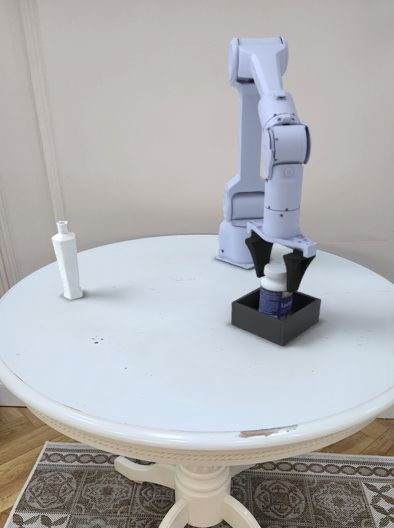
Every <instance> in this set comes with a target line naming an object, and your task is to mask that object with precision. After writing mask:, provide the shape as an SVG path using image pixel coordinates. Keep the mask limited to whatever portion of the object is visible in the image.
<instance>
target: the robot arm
mask: <svg viewBox="0 0 394 528" xmlns="http://www.w3.org/2000/svg"><path fill="white" fill-rule="evenodd" d="M227 54H228V55H227V56H228V57H227V80H228V85H229V86H230V87H232V88H234V89H237V94H238V134H237V135H238V137H237V138H238V140H237V141H238V142H237V143H238V144H237V174H236V175H235V176H233V177H232V178H231V179H230V180H228V181H227V182H226V183H225V184H224V187H223V190H224V191H223V196H222V211H223V212H222V213H223V218H224V219H223V220H222V221H221V223H220V225H219V228H218V255H216V257H215V258H216V260H219V261H222V262H224V263H228V264H231V265H234V266H237V267H240V268H243V269H246V270H251V269H252V268H254V271H255V275H256V278H258V279H261V278H264V277H265V274H264V268H265V265H267V264H269V263H271V255H272V251H273V250H272V249H273V247H274V244H277V245H280V246H283V247H285V248H287V249H290V250H292V251H291V252H287V253H284V254H282V259H283V263H285V266H286V274H287V279H286V288H287V292H288V293H292V292H295V291H299V288H300V287H301V283H302V280H303V279H304V276H305V274H306V271H307V270H308V268H309V266H310V265H311V263H313V260H314V259H315V258H316V257H317V250H318V243H317V242H315V241H313V240H311V239H310V238H309V237H307V236H305V235H304V234H303V233H302V228H301V227H299V226H300V212H301V203H302V202H301V201H302V190H303V179H304V168H305V167H304V165H307V164H308V163H309V162H310V161H309V160H310V157H311V152H312V133H311V129H310V125H309V124H308V123H306V122H304V120H300V118H299V115H298V112H297V111H298V110H297V108H296V104H295V101H294V98H293V96H292V94H291V93H290V92H289V91H287V90H285V89H284V83H283V76H284V75H285V73H286V72H287V68H288V64H289V44H288V41H287V39H286V38H285V36H283V35H280V36H278V37H244V38H243V37H241V38H237V37H232V38H231V41H230V42H229V45H228V52H227ZM261 155H262V156H261ZM261 161H262V162H263V165H262V166H263V167H262V168H263V169H262V171H263V176H264V177H265V178H264V177H263V176H262V175H261Z"/></svg>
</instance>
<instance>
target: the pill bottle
mask: <svg viewBox="0 0 394 528" xmlns="http://www.w3.org/2000/svg"><path fill="white" fill-rule="evenodd" d="M264 274H265V276H264V277H262V279H261V280H260V286H259V287H260V303H259V311H260V312H263V313H265V314H268V315H270V316H273V317H276V318H278V319H281V320H283V321H284V320H285V319H287V318H288V317H290V316H291V307H292V296H293V292H292V293H288V292H287V288H286V279H287V274H286V266H285V262H270V263H269V264H267V265H265V268H264Z"/></svg>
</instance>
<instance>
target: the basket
mask: <svg viewBox="0 0 394 528" xmlns="http://www.w3.org/2000/svg"><path fill="white" fill-rule="evenodd" d="M259 303H260V286H259V287H257V288H254V289H253V290H251V291H250V292H248V293H246V294H244V295H242V296H241V297H239V298H237V299H235V300H233V301H231V312H230V313H231V316H230V319H231V321H230V322H231V323H230V324H231V325H232V326H234V327H236V328H239V329H241V330H243V331H246V332H248V333H250V334H253V335H255V336H257V337H260V338H262V339H265V340H266V341H269V342H272V343H274V344H276V345H279V346H281V347H284V346H286V344H288V343H289V342H291V341H292V340H294V339H295V338H297V337H298V336H300V335H301V334H303V333H304V332H306V331H307V330H308V329H310V328H311V327H313V326H314V325H316V324H318V323H319V322H320V314H321V306H322V305H321V304H322V299H321V298H320V297H319V298H318V297H316V296H313V295H311V294H307V293H305V292H301V291H299V290H297V291H295V292H293V296H292V307H291V316H290V317H288V318H287V319H285V320H284V321H283V320H281V319H278V318H276V317H273V316H270V315H268V314H265V313H263V312H260V311H259Z"/></svg>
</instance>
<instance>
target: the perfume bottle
mask: <svg viewBox="0 0 394 528" xmlns="http://www.w3.org/2000/svg"><path fill="white" fill-rule="evenodd" d="M55 224H56V227H57V232H58V233H56V234H55V235H53V236H52V237H51V242H52V245H53V249H54V253H55V257H56V262H57V265H58V269H59V273H60V277H61V281H62V285H63V288H64V290H63V297H64V298H66V299H68V300H70V301H71V300H76V299H79V298H83V297H84V296H83V295H84V294H83V290H82V288H81V283H80V272H79V261H78V248H77V238H76V237H77V236H76V233H75V232H72V231H69V228H68V226H69V225H68V220H59V221H57V222H56V223H55Z"/></svg>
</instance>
